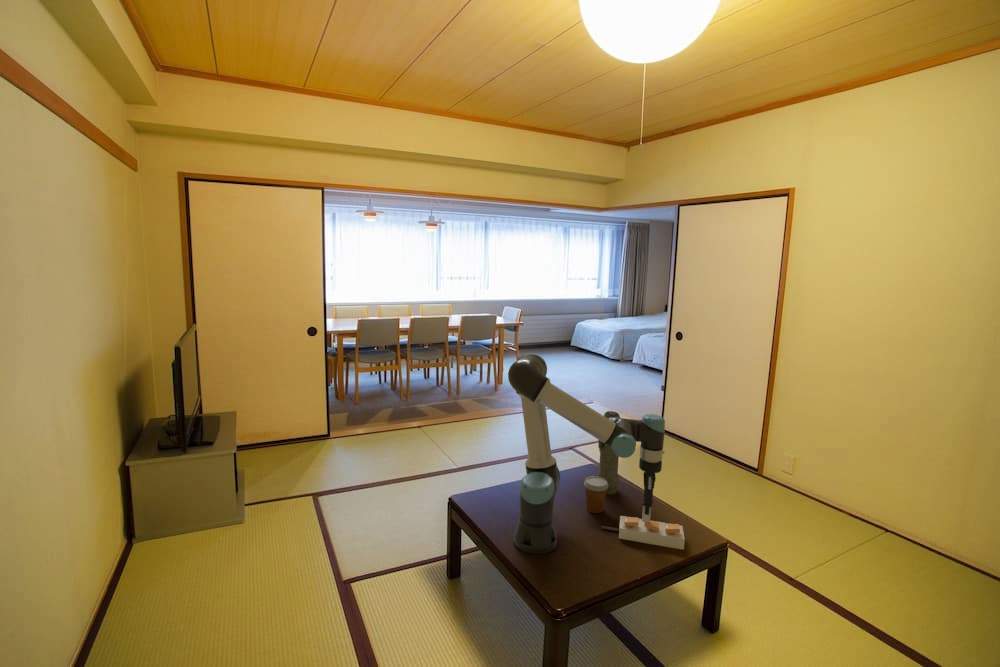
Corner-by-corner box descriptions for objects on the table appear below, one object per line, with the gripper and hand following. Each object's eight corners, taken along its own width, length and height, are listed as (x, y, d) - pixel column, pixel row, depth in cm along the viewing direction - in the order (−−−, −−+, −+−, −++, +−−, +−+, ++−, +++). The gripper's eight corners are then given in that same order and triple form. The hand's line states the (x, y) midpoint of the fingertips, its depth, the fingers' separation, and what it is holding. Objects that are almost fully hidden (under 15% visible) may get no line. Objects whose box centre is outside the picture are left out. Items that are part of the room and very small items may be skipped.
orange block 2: (644, 526, 168) (645, 523, 168) (644, 521, 171) (645, 518, 171) (658, 531, 167) (659, 528, 167) (657, 526, 170) (658, 523, 170)
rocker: (665, 533, 166) (665, 529, 166) (665, 527, 169) (664, 524, 169) (680, 532, 165) (679, 528, 165) (679, 527, 168) (678, 523, 168)
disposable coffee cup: (605, 504, 194) (606, 476, 192) (608, 516, 185) (610, 487, 183) (581, 502, 195) (583, 475, 193) (583, 514, 186) (585, 485, 184)
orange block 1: (624, 526, 170) (624, 522, 170) (624, 521, 173) (624, 517, 173) (638, 525, 169) (637, 521, 168) (638, 520, 172) (637, 517, 172)
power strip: (600, 535, 172) (601, 523, 171) (602, 522, 180) (602, 511, 180) (683, 549, 164) (684, 537, 163) (681, 535, 173) (682, 524, 172)
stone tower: (624, 490, 206) (629, 413, 201) (605, 497, 200) (610, 418, 195) (608, 482, 214) (613, 408, 208) (590, 489, 207) (594, 412, 202)
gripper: (663, 467, 159) (657, 532, 162) (661, 453, 171) (656, 513, 175) (639, 464, 161) (635, 528, 164) (639, 450, 173) (635, 510, 177)
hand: (645, 521), depth 169 cm, fingers closed
